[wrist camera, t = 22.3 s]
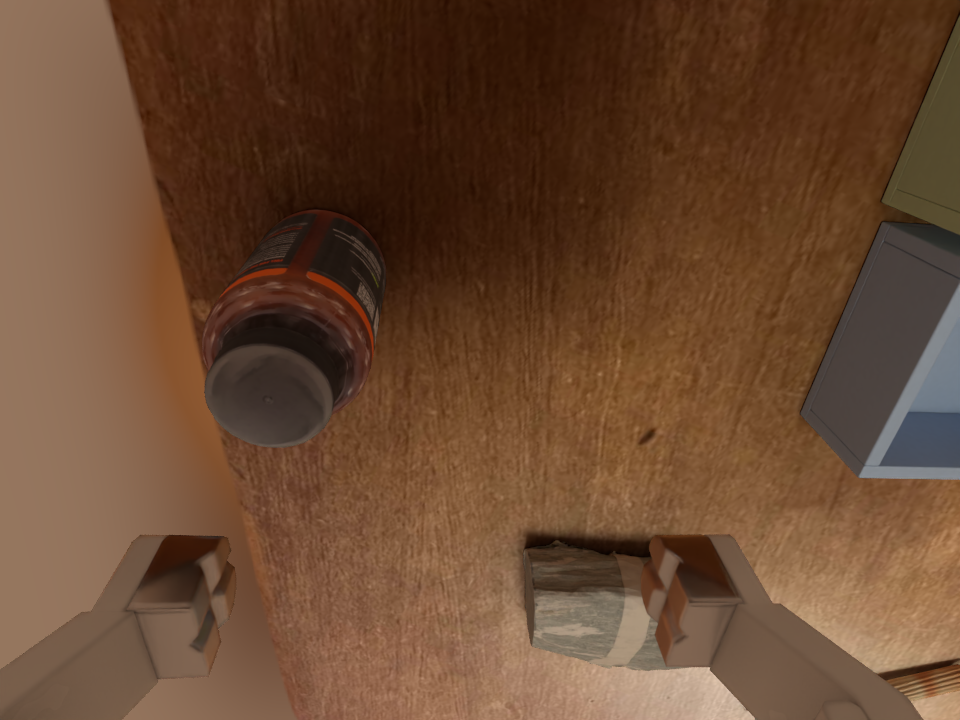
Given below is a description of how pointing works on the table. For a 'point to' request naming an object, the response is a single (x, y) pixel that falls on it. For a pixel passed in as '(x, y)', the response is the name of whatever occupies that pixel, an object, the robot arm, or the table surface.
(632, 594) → the decorative stone
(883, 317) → the blue bin
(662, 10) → the table surface
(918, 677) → the trowel
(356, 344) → the supplement bottle
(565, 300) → the table surface
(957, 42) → the sage bin
